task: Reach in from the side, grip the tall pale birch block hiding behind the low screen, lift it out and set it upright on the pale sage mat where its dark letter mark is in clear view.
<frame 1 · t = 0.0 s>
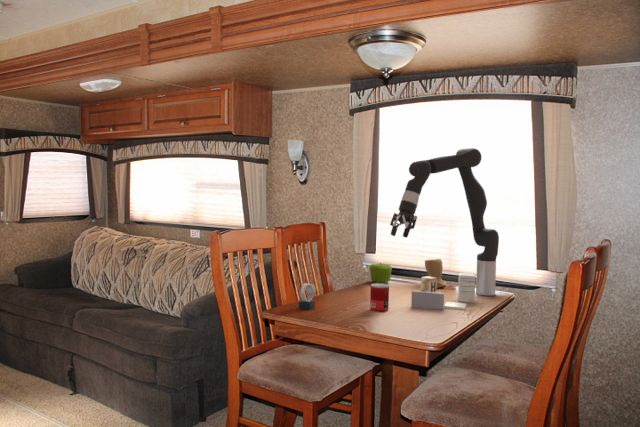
hand: (398, 236, 234), 31 cm above the table, tool tilted 20°, fingers open, 8 cm apart
supplement box: (466, 301, 248), on the table
mat: (455, 306, 235), on the table
snow globe: (306, 308, 228), on the table
canned food: (379, 310, 227), on the table
marked block: (428, 303, 242), on the table
tan boot: (434, 286, 286), on the table
screen: (427, 307, 232), on the table
apple: (380, 283, 293), on the table
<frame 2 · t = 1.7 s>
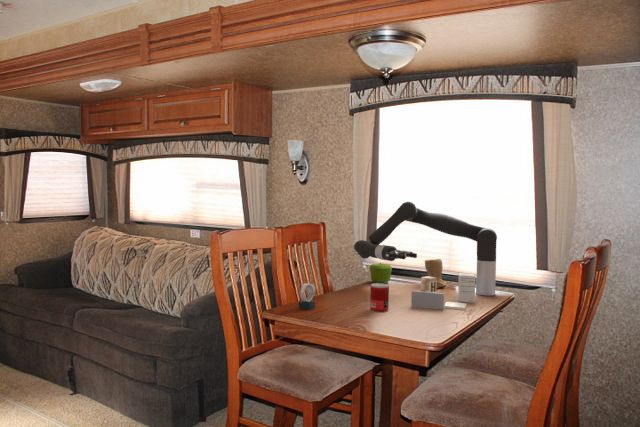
hand: (410, 256, 253), 20 cm above the table, tool horizontal, fingers open, 8 cm apart
nothing on the table moved.
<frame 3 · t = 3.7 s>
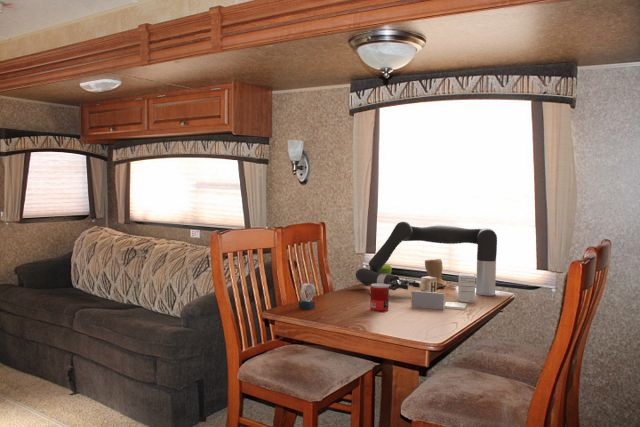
hand: (413, 286, 248), 6 cm above the table, tool horizontal, fingers open, 8 cm apart
nothing on the table moved.
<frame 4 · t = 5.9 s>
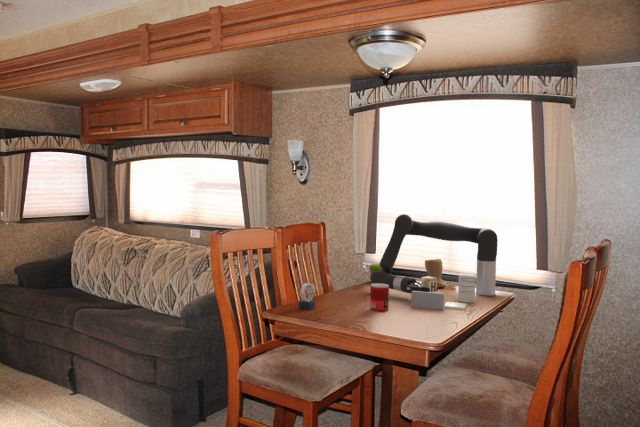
hand: (433, 289, 239), 7 cm above the table, tool horizontal, fingers closed on marked block, 5 cm apart
marked block: (428, 303, 242), on the table, touching gripper
everything else where it was.
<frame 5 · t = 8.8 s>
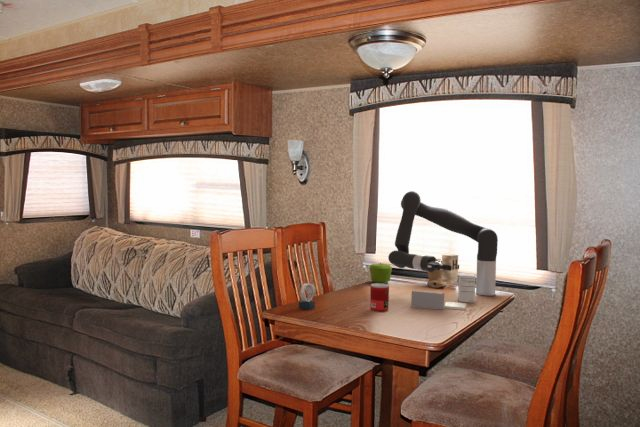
hand: (454, 267, 233), 18 cm above the table, tool horizontal, fingers closed on marked block, 5 cm apart
marked block: (449, 281, 236), point 11 cm above the table, touching gripper
everything else where it was.
when the fingers open (9 cm above the table, at t = 11.7 s): marked block drops 1 cm, resting on mat.
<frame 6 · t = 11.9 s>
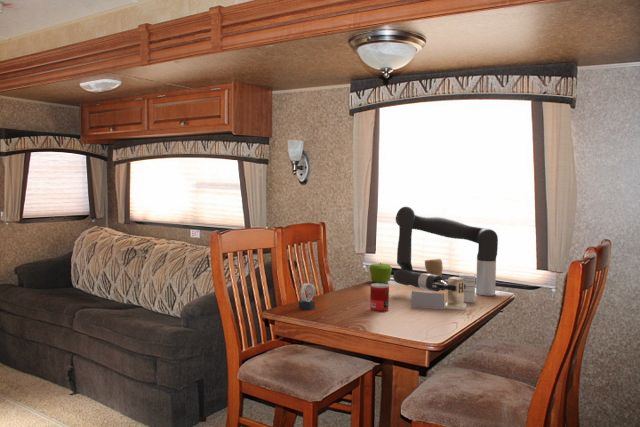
hand: (460, 287, 232), 9 cm above the table, tool horizontal, fingers open, 6 cm apart
marked block: (455, 304, 234), point 1 cm above the table, touching mat
everything else where it was.
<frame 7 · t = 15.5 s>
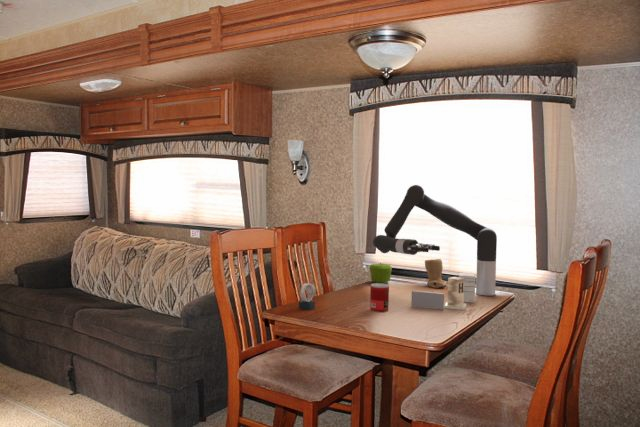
hand: (433, 249, 245), 25 cm above the table, tool horizontal, fingers open, 8 cm apart
nothing on the table moved.
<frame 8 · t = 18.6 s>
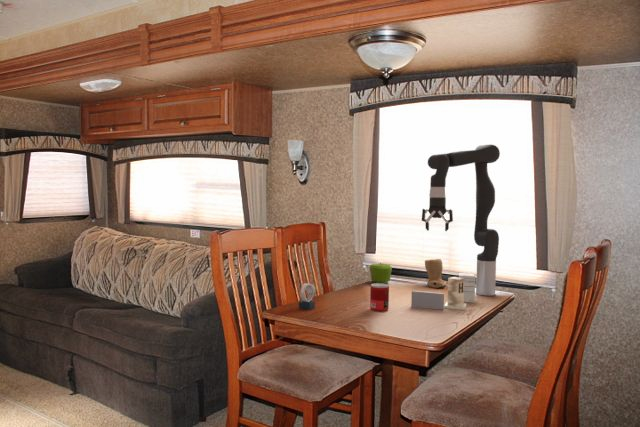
hand: (436, 230, 248), 33 cm above the table, tool pointing down, fingers open, 8 cm apart
nothing on the table moved.
at the end: marked block 0.0 cm off-centre on the mat, point 1.0 cm above the mat's base; marked block tilted 0°; the gripper is holding nothing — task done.
